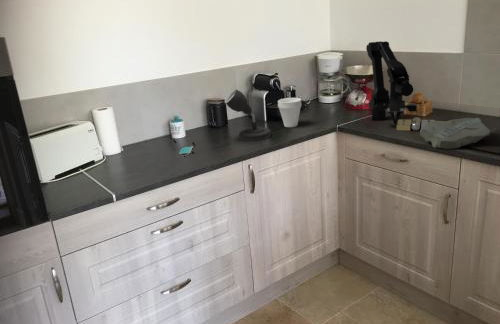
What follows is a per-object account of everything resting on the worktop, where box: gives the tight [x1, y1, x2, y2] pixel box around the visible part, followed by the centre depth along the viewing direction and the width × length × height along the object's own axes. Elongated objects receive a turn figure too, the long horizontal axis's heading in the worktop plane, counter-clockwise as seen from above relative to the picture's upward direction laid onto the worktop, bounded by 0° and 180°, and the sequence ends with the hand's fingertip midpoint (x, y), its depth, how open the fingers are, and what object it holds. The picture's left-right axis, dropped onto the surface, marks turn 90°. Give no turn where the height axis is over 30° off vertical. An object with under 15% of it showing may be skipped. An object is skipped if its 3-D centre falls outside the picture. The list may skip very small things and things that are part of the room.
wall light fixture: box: [225, 89, 272, 142], centre depth 209 cm, size 16×25×20 cm
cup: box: [277, 97, 302, 128], centre depth 225 cm, size 12×12×14 cm
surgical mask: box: [172, 139, 196, 158], centre depth 200 cm, size 21×4×10 cm
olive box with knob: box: [396, 119, 421, 131], centre depth 204 cm, size 10×11×4 cm
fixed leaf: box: [411, 117, 436, 132], centre depth 202 cm, size 10×11×4 cm
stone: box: [419, 117, 491, 150], centre depth 179 cm, size 28×8×20 cm
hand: (395, 124), depth 207 cm, fingers closed
